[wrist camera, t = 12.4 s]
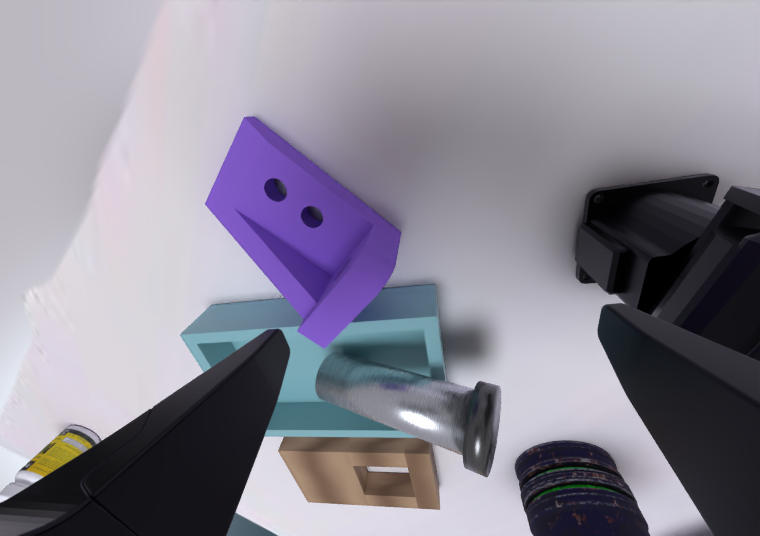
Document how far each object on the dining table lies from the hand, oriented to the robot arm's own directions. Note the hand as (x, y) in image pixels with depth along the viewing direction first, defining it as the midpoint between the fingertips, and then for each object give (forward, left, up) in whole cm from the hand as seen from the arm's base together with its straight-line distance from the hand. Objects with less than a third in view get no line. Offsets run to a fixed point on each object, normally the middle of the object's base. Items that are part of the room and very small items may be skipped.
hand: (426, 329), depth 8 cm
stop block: (+11, +30, -13) cm, 34 cm away
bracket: (+8, 0, -14) cm, 16 cm away
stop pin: (+9, +13, -10) cm, 19 cm away
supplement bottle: (+51, +26, -13) cm, 59 cm away
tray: (+10, +13, -13) cm, 21 cm away
